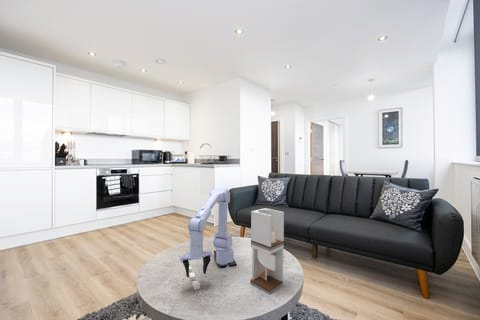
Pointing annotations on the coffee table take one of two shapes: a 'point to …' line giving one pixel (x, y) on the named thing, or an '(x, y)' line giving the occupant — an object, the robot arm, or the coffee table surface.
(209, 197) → the robot arm
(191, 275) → the switch
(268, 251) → the white wooden shelf tower
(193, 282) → the switch
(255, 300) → the coffee table surface
